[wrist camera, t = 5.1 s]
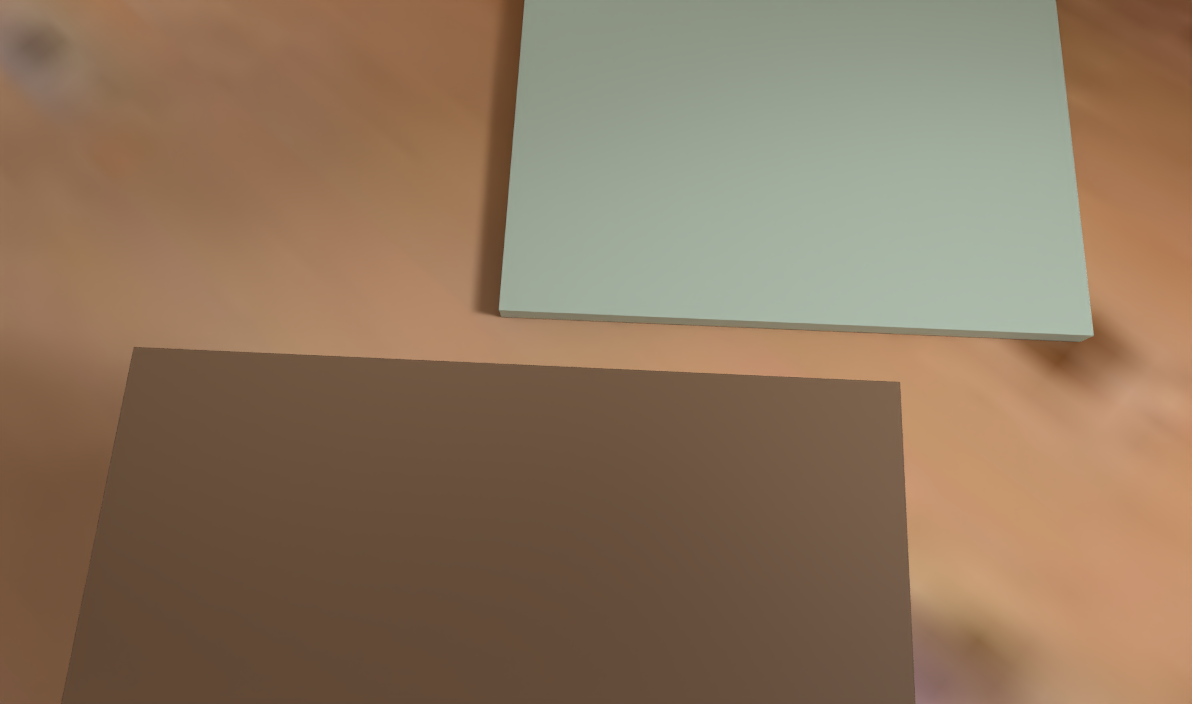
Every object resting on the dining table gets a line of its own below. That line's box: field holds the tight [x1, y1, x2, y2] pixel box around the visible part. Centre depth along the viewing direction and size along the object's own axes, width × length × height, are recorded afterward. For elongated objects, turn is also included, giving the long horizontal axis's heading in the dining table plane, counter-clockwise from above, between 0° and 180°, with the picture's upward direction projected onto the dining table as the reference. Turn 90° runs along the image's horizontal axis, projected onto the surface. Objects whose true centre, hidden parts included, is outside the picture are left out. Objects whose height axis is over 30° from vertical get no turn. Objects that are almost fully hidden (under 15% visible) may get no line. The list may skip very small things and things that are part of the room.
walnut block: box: [61, 347, 915, 704], centre depth 10 cm, size 4×4×13 cm
